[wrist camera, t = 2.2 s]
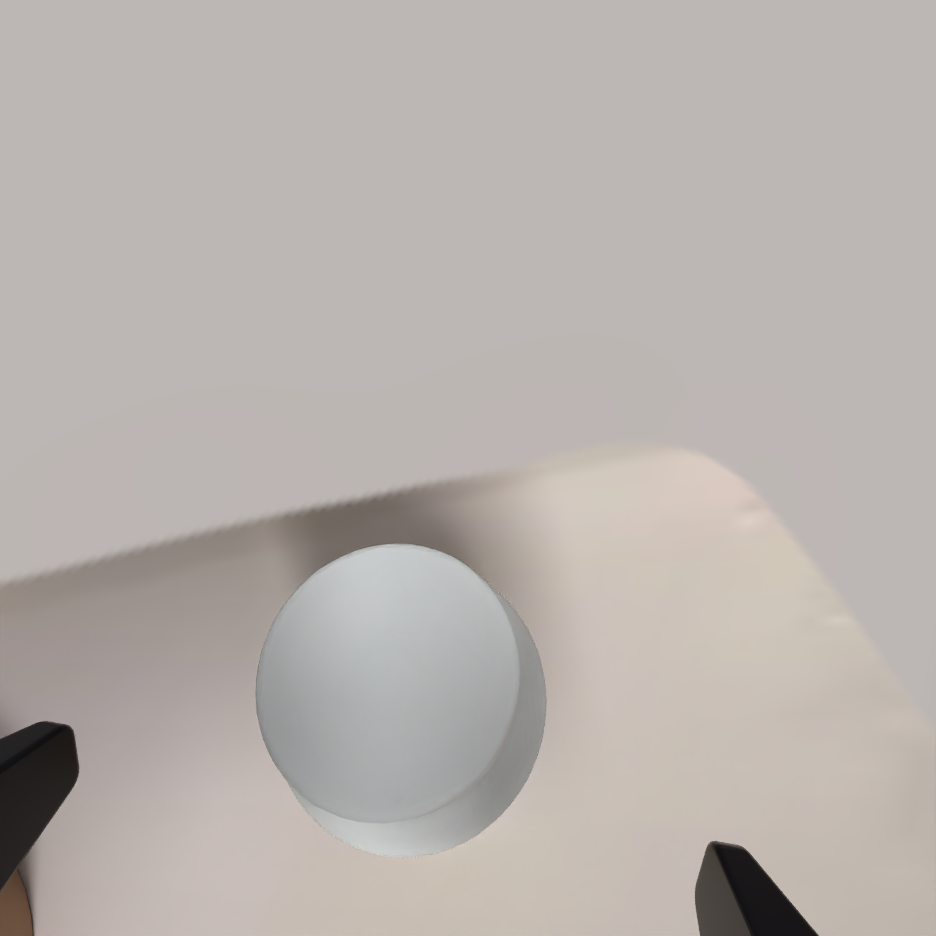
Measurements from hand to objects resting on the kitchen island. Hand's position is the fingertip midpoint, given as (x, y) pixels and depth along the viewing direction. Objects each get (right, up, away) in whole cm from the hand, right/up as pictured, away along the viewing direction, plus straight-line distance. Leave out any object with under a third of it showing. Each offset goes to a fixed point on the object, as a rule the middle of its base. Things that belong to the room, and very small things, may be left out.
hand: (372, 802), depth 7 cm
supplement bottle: (0, -3, +9) cm, 10 cm away
